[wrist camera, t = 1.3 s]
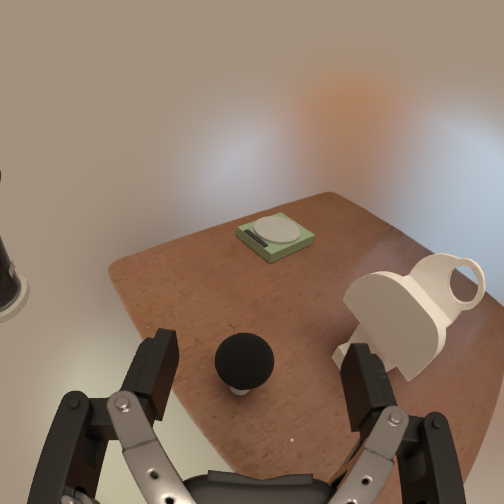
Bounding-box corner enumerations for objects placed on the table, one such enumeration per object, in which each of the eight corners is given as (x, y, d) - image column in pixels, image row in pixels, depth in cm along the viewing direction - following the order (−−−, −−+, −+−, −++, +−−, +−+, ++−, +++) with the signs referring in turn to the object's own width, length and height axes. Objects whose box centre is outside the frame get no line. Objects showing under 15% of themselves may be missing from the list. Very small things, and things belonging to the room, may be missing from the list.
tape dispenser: (386, 315, 42) (435, 226, 31) (430, 372, 33) (501, 288, 22) (320, 342, 37) (369, 238, 26) (367, 416, 28) (456, 330, 17)
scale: (269, 263, 50) (271, 251, 48) (236, 235, 56) (237, 224, 54) (312, 243, 56) (315, 232, 55) (279, 221, 62) (281, 210, 60)
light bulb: (243, 361, 34) (251, 312, 28) (273, 393, 30) (292, 351, 24) (205, 383, 30) (202, 338, 24) (234, 419, 27) (242, 385, 21)
